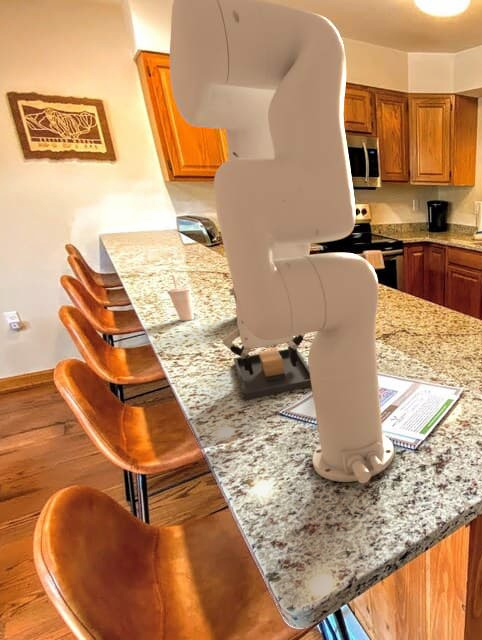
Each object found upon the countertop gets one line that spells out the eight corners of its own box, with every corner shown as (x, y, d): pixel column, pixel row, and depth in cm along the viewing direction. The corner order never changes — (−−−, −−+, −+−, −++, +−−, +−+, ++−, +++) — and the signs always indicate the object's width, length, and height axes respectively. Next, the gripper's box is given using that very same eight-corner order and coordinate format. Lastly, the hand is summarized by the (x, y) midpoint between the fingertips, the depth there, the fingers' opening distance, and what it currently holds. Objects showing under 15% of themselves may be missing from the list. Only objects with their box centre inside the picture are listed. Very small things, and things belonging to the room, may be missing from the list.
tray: (317, 387, 91) (316, 378, 90) (245, 403, 84) (243, 394, 83) (297, 355, 108) (295, 347, 107) (235, 366, 101) (233, 358, 100)
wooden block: (285, 377, 94) (282, 359, 92) (266, 381, 92) (262, 362, 90) (280, 366, 99) (277, 348, 97) (262, 370, 98) (258, 352, 96)
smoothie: (178, 317, 138) (166, 273, 132) (200, 315, 139) (189, 272, 134) (172, 322, 132) (160, 277, 126) (196, 321, 134) (184, 276, 128)
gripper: (211, 301, 81) (231, 383, 88) (305, 290, 89) (316, 366, 96) (209, 292, 87) (228, 370, 94) (297, 283, 95) (308, 355, 102)
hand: (272, 368), depth 95 cm, fingers open, 8 cm apart
